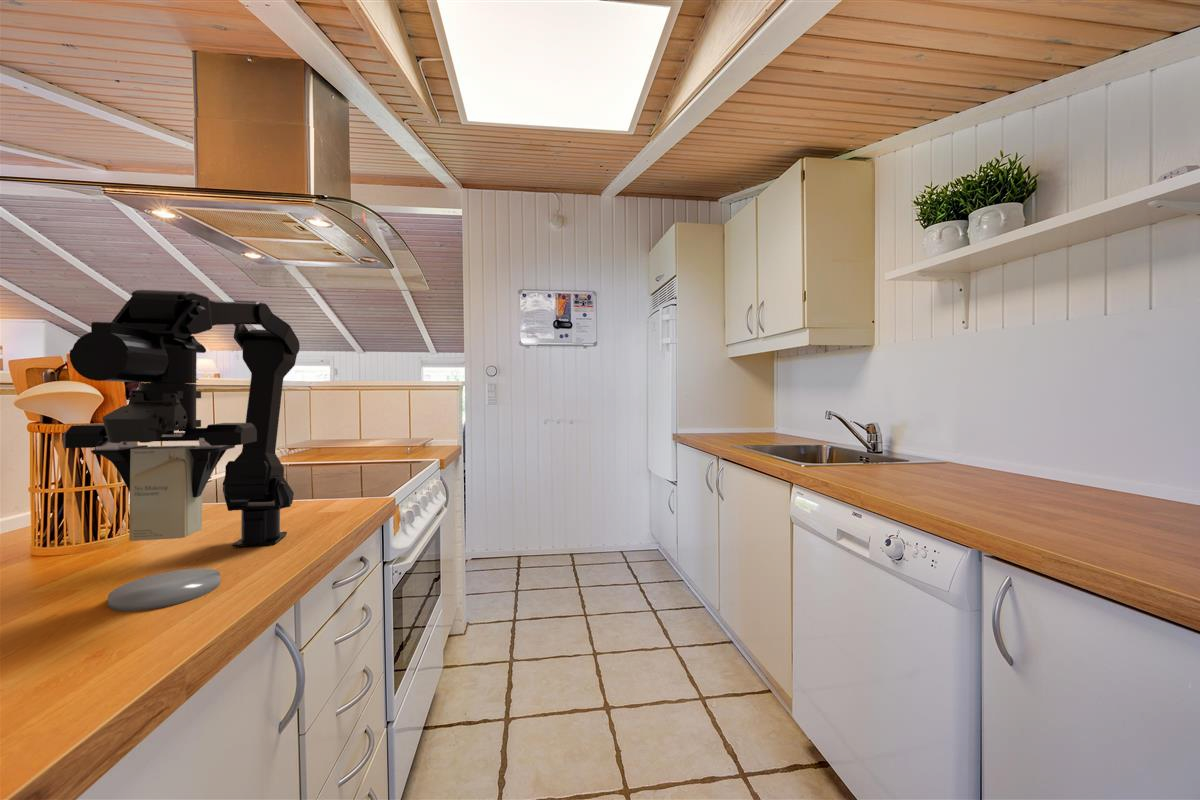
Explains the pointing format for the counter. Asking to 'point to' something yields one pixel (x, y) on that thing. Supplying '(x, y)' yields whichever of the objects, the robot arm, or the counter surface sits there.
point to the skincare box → (163, 493)
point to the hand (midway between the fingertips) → (167, 498)
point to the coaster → (163, 589)
